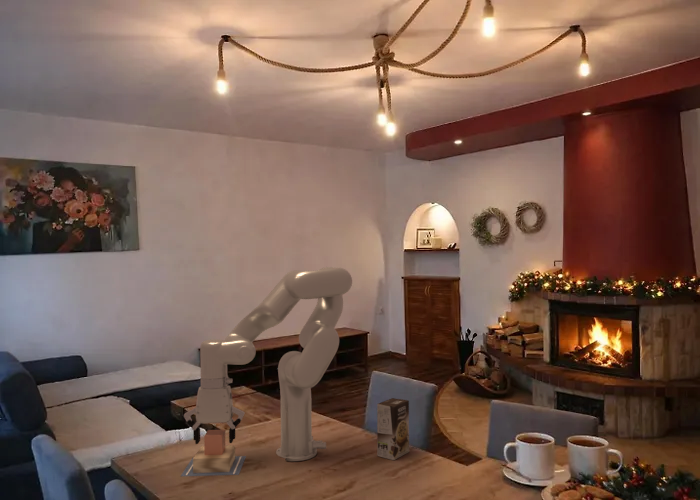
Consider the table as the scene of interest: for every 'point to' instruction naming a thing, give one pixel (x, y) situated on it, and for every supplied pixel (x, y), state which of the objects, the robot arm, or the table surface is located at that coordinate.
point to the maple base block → (214, 461)
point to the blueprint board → (233, 471)
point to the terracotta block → (214, 442)
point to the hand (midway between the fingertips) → (214, 442)
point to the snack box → (392, 428)
